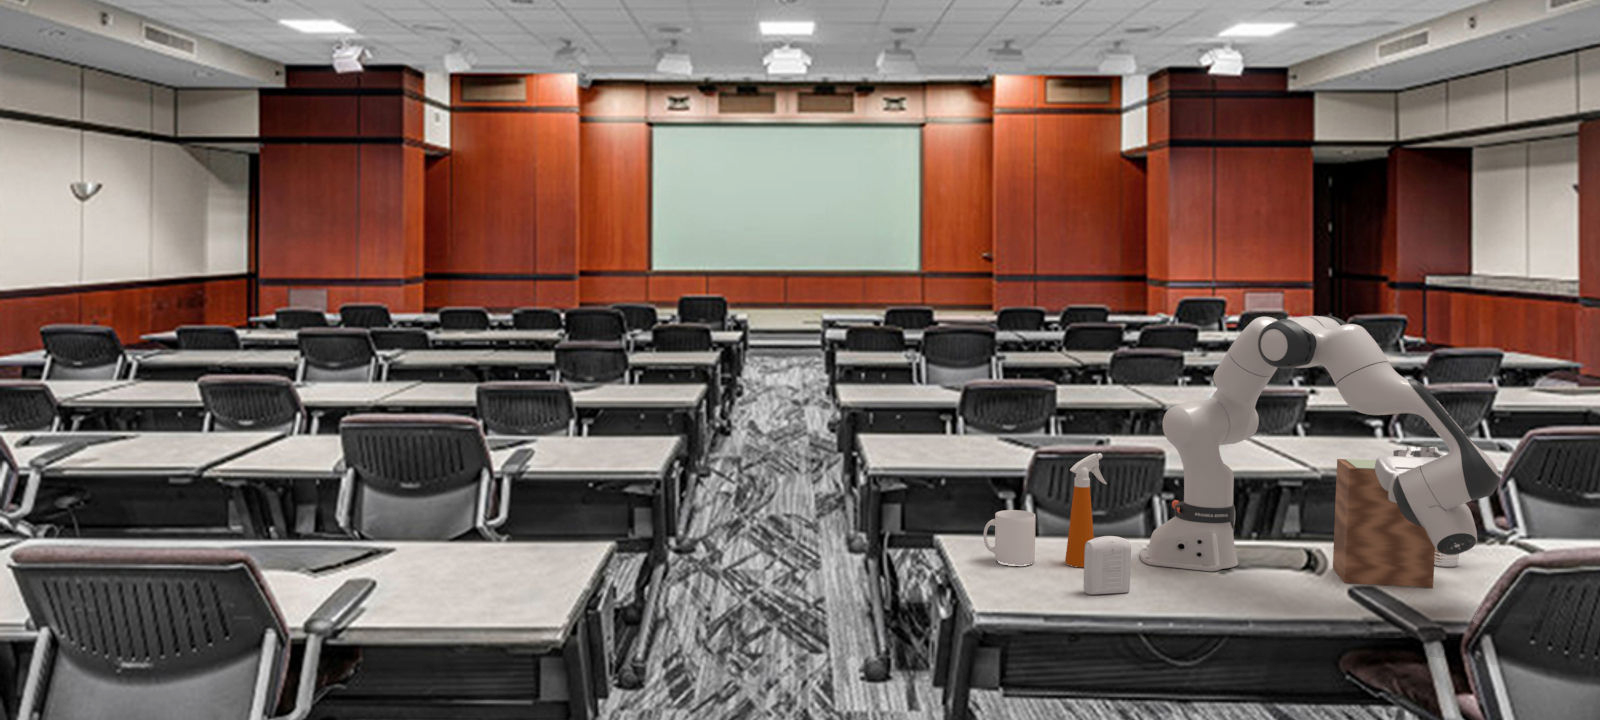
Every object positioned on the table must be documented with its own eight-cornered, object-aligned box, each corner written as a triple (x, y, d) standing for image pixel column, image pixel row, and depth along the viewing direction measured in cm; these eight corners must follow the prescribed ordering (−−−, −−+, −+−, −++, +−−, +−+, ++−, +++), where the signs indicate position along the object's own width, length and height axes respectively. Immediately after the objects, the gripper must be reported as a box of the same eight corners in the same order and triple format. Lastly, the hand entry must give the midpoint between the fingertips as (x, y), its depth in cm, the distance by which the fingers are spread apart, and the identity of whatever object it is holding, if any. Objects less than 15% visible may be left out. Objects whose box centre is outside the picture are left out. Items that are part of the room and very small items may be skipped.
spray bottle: (1114, 564, 271) (1116, 454, 269) (1078, 569, 267) (1080, 458, 264) (1094, 557, 278) (1096, 450, 275) (1058, 562, 273) (1060, 453, 270)
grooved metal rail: (1435, 458, 240) (1435, 445, 240) (1420, 457, 241) (1419, 445, 241) (1408, 462, 259) (1407, 451, 260) (1393, 462, 260) (1393, 450, 260)
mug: (1037, 568, 268) (1038, 519, 267) (985, 567, 269) (986, 518, 268) (1031, 557, 278) (1032, 510, 277) (982, 556, 278) (982, 509, 277)
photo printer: (1123, 587, 252) (1124, 532, 251) (1133, 593, 248) (1134, 537, 247) (1080, 591, 250) (1081, 535, 249) (1089, 596, 246) (1090, 540, 245)
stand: (1344, 582, 255) (1349, 468, 253) (1332, 568, 267) (1337, 458, 265) (1433, 588, 251) (1438, 471, 249) (1417, 573, 263) (1422, 461, 260)
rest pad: (1356, 468, 253) (1356, 467, 253) (1345, 459, 263) (1345, 459, 263) (1391, 469, 251) (1391, 468, 251) (1378, 461, 262) (1378, 460, 262)
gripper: (1496, 482, 230) (1478, 439, 241) (1386, 477, 235) (1372, 435, 246) (1489, 505, 233) (1471, 462, 244) (1381, 500, 238) (1367, 458, 249)
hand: (1421, 448), depth 245 cm, fingers closed on grooved metal rail, 3 cm apart
